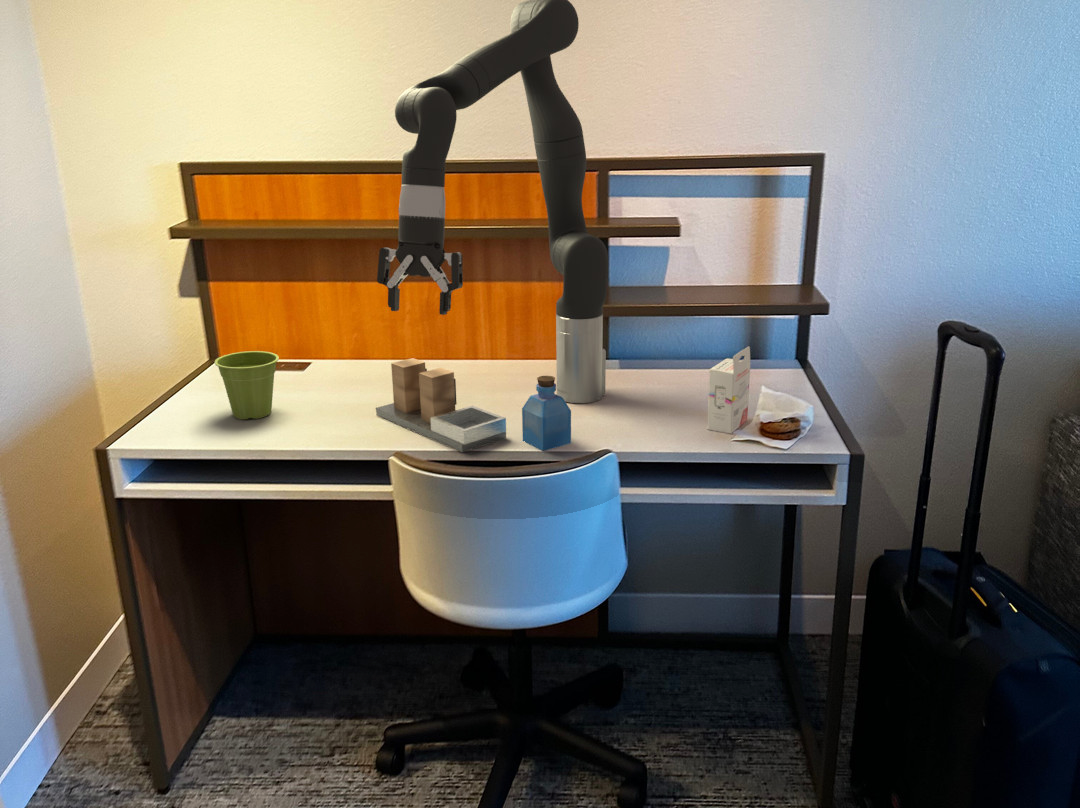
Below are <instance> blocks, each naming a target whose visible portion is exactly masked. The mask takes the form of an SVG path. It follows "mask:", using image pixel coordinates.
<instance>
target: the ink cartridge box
mask: <svg viewBox="0 0 1080 808" xmlns="http://www.w3.org/2000/svg"><path fill="white" fill-rule="evenodd" d="M742 357H744V358H742ZM741 358H742V360H741ZM708 372H709V373H708V374H709V375H708V376H709V377H708V402H707V403H708V405H707V428H706V429H707V431H714V432H720V433H724V434H730V433H731V434H733V433H734V432H735V431H736V430H737V429H738V428H740V427H741V426H742V425H743V424H744V423H746V422H747V420H748V414H749V413H748V412H749V411H748V410H749V395H750V379H751V347H750V346H749V345H748V346H747V347H746V348H743V349H742V350H740V351H739V352H737V353H736V354H734V355H733V357H732V358H725V359H724V360H722V361H720V362H719V363H717V364H716V365H714V366H712V367H711V368H709V370H708ZM732 432H733V433H732Z"/></svg>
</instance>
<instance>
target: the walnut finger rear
mask: <svg viewBox="0 0 1080 808" xmlns="http://www.w3.org/2000/svg"><path fill="white" fill-rule="evenodd" d="M390 366H391V367H390V368H391V380H392V394H393V395H392V396H393V403H394V408H396V409H398V410H400V411H403V412H405V413H407V412H411V411H415V410H418V409H421V402H420V384H419V373H422V372H426V371H428V368H426V362H425V361H422V360H419V359H416V358H413V357H412V358H411V357H410V358H408V359H404V360H400V361H395V362H392V363H390Z"/></svg>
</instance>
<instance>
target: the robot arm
mask: <svg viewBox="0 0 1080 808" xmlns="http://www.w3.org/2000/svg"><path fill="white" fill-rule="evenodd" d="M578 32H579V17H578V13H577V10H576V8H575V6H574V5H573V3H571V2H570V1H569V0H525V1H523V2H520V3H518V4H517V5H516V6H515V7H514V8H513V11H512V12H511V16H510V33H509V34H506V35H504V36H503V37H500V38H499V39H496V40H494V41H492V42H489V43H487V44H485V45H483V46H481V47H478V48H477V49H474V50H473V51H471V52H469V53H468V54H466V55H465V56H464V55H463V57H461V58H460V59H458V60H457V61H456V62H454V63H453V64H451V65H450V66H448V67H447V68H446V69H445V70H444V71H442V72H439V73H437V74H435V75H433V76H431V77H428V78H427V79H425V80H423V81H419V82H418V83H416V84H414V85H413V86H411V87H409V88H408V89H406V90H404V91H403V93H401V95H399V97H398V99H397V101H396V103H395V108H394V117H395V119H396V122H397V124H398V126H399V128H401V129H403V131H405V132H406V133H411V134H415V135H417V137H416V142H415V144H414V146H412V147H411V148H409V149H407V150H406V151H404V153H403V156H402V161H401V186H400V194H399V205H398V239H397V240H398V245H397V249H395V248H393V249H392V248H390V247H381V248H379V250H378V251H379V252H378V264H377V276H376V282H377V283H378V284H380V285H383V286H385V287H387V306H388V308H390V310H391V312H398V311H399V310H400V297H401V296H400V294H401V293H400V292H401V291H400V290H401V289H400V288H399V286H400V284H401V283H402V282H403V281H404V280H405V278H407V277H408V276H411V277H416V276H420V277H425V278H429V277H430V278H432V279H433V281H434V282H436V284H437V285H438V287H439V289H440V290H441V292H440V293H439V309H438V310H439V315H442V316H444V315H447V314H448V312H450V310H451V308H452V293H453V291H455V290H458V289H461V288H463V287H464V280H463V279H464V277H463V275H464V274H463V273H464V271H463V269H464V267H463V263H464V262H463V254H462V252H460V251H457V252H446V251H445V248H444V246H445V226H446V225H445V224H446V220H445V219H446V194H445V185H446V183H445V182H446V160H447V158H448V154H449V152H450V147H451V144H452V140H453V137H454V134H455V129H456V124H457V116H458V115H457V111H460V110H464V109H467V108H469V107H471V106H472V105H474V104H476V103H477V102H478V101H480V100H481V99H483V98H484V97H485V96H487V95H488V94H489V93H491V92H492V91H493V90H495V89H496V88H498V87H499V86H500V85H502V84H503V83H504V82H506V81H507V80H509V79H510V78H512V77H513V76H515V75H516V74H518V73H520V74H521V75H520V76H521V79H522V83H523V86H524V91H525V97H526V101H527V102H526V103H527V107H528V112H529V117H530V122H531V127H532V128H531V130H532V134H533V135H532V137H533V143H534V150H535V155H536V161H537V166H538V171H539V177H540V182H541V187H542V192H543V197H544V198H543V199H544V202H545V203H544V204H545V206H546V214H547V215H546V216H547V226H548V243H549V256H550V260H551V263H552V265H553V267H554V269H555V270H556V271H557V272H558V273H559V274H561V275H562V276H563V281H562V282H563V285H562V286H563V287H562V288H563V289H562V295H561V297H559V298H558V299H557V301H556V305H555V319H556V320H555V322H556V323H555V325H556V326H555V329H556V330H555V333H556V337H555V338H556V339H555V343H556V345H555V346H556V395H559V396H561V397H562V398H563V399H564V401H565V402H566V403H572V404H573V403H574V404H585V403H594V402H596V401H599V400H601V398H602V396H605V395H606V379H607V378H606V373H607V372H606V368H607V367H606V365H607V364H606V363H607V362H606V360H607V359H606V358H607V357H606V356H607V351H606V349H605V348H603V331H604V330H603V329H604V328H603V326H604V325H603V324H604V323H603V321H604V320H603V319H604V318H603V317H604V316H603V314H604V309H603V308H604V305H605V303H606V300H607V298H608V297H607V294H608V282H609V281H608V280H609V278H608V277H609V254H608V250H607V247H606V245H605V244H604V242H603V241H602V240H601V239H600V238H598V237H597V236H594V235H592V234H589V232H588V229H587V226H586V220H585V216H584V211H583V189H584V184H585V179H586V171H587V153H586V145H585V139H584V131H583V127H582V124H581V120H580V119H579V116H578V115H577V113H576V111H575V110H574V108H573V106H572V105H571V104H570V102H569V101H568V99H567V97H566V95H565V94H564V93H563V91H562V90H561V88H560V86H559V84H558V82H557V80H556V77H555V73H554V68H553V62H552V58H551V55H553V54H556V53H558V52H561V51H564V50H566V49H567V48H569V47H570V46H571V45H572V44H573V42H575V39H576V37H577V35H578ZM395 257H396V259H397V260H398V262H399V264H400V265H399V266H398V267H397V269H396V270H395V271H394V272H393V275H392V276H391V277H390V271H391V262H392V261H394V258H395ZM445 261H447V264H448V266H449V267H450V268H451V273H450V274H451V282H450V281H449V279H448V278H447V274H446V273H445V272H444V270H443V268H442V267H441V266H442V265H443V264H444V262H445Z"/></svg>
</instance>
